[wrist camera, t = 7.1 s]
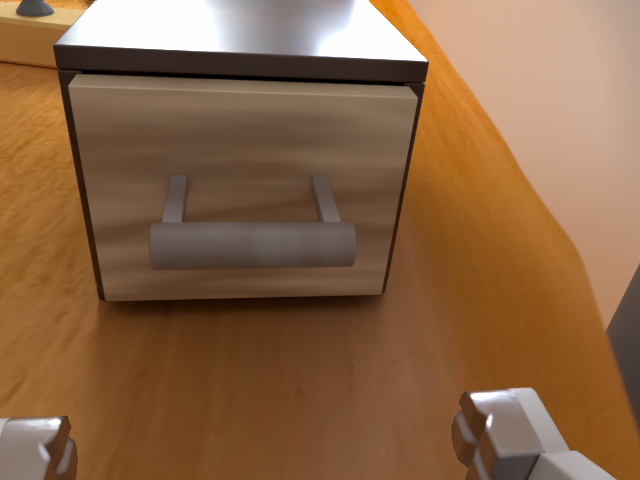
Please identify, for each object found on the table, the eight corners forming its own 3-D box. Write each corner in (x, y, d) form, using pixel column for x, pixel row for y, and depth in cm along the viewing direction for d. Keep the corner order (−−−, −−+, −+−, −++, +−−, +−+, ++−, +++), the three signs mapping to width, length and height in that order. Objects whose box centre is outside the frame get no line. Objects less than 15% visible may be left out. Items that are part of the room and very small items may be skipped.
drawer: (411, 378, 20) (467, 157, 15) (79, 395, 18) (21, 150, 13) (330, 150, 36) (345, 6, 31) (148, 147, 34) (132, -7, 29)
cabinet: (385, 293, 25) (430, 61, 20) (98, 300, 23) (51, 44, 18) (333, 148, 38) (350, -18, 32) (143, 145, 36) (125, -34, 30)
